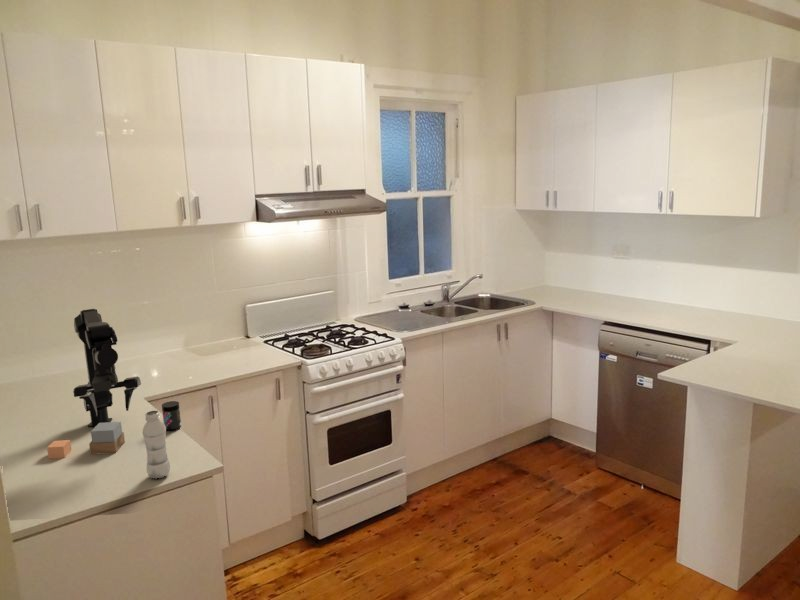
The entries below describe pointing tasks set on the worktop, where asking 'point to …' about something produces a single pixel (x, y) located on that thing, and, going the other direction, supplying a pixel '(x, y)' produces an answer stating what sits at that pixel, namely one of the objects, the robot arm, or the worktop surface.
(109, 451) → the walnut base block
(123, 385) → the robot arm
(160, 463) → the plastic bottle
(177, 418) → the supplement container
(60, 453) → the terracotta block
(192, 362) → the worktop surface
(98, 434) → the slate top block
